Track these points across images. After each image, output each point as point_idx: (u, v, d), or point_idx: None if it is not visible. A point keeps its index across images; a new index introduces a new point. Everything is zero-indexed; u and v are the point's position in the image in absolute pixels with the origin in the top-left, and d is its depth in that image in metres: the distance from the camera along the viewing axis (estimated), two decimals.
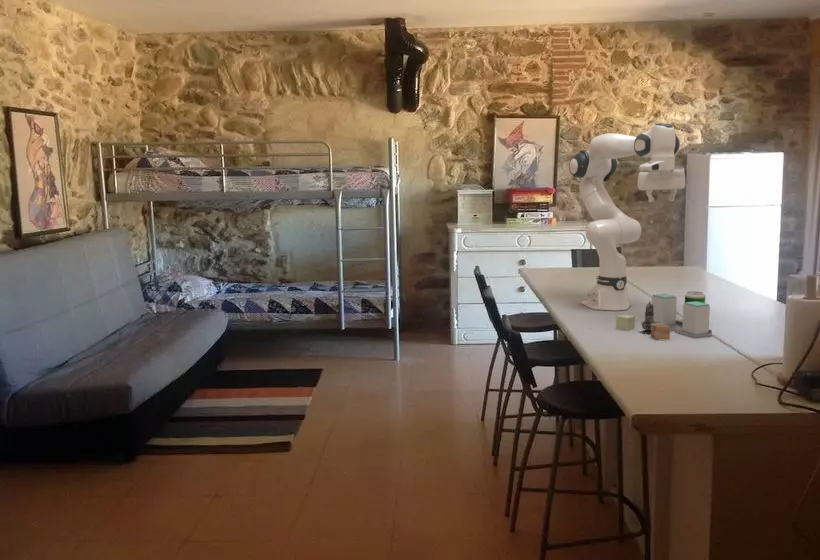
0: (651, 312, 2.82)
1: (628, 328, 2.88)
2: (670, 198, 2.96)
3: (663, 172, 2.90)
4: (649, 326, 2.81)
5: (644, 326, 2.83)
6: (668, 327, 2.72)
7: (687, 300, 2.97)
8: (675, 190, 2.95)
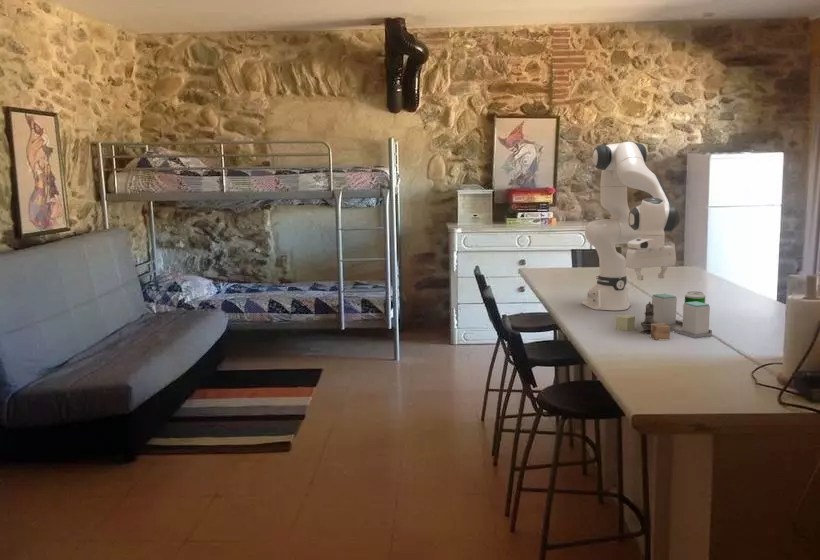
0: (651, 312, 2.82)
1: (628, 328, 2.88)
2: (660, 275, 2.82)
3: (652, 250, 2.76)
4: (649, 326, 2.81)
5: (644, 326, 2.83)
6: (668, 327, 2.72)
7: (687, 300, 2.97)
8: (665, 267, 2.81)
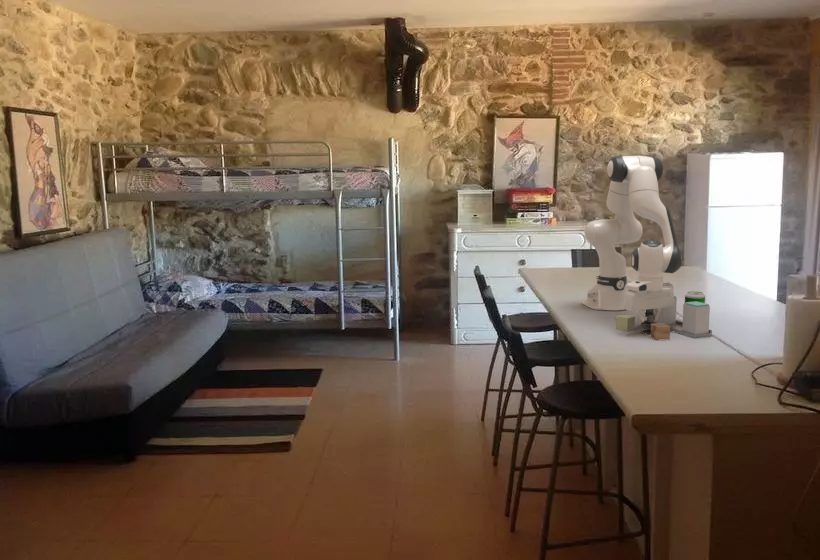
0: (651, 312, 2.82)
1: (628, 328, 2.88)
2: (653, 317, 2.84)
3: (651, 292, 2.79)
4: (649, 326, 2.81)
5: (644, 326, 2.83)
6: (668, 327, 2.72)
7: (687, 300, 2.97)
8: (659, 309, 2.83)
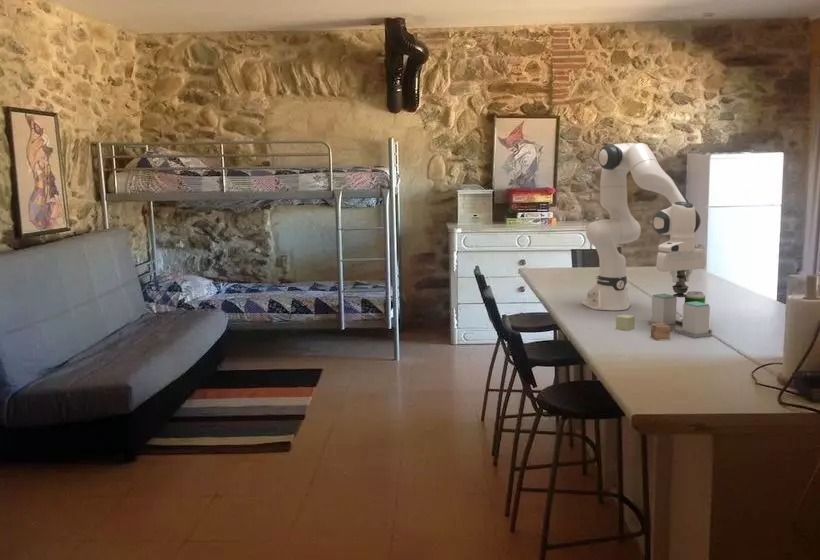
0: (682, 275, 2.83)
1: (628, 328, 2.88)
2: None
3: (682, 253, 2.80)
4: (680, 289, 2.83)
5: (675, 289, 2.84)
6: (668, 327, 2.72)
7: (687, 300, 2.97)
8: (690, 270, 2.84)
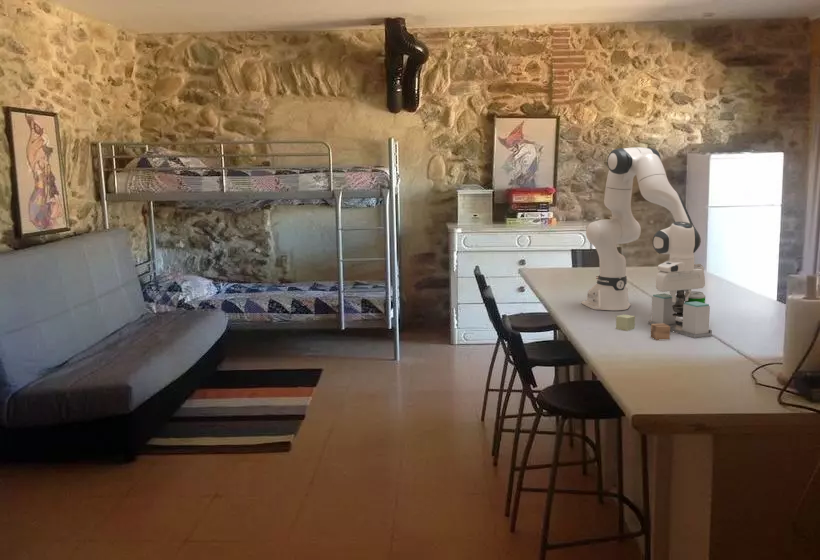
0: (682, 295, 2.84)
1: (628, 328, 2.88)
2: (684, 298, 2.86)
3: (682, 273, 2.81)
4: (680, 309, 2.84)
5: (675, 309, 2.85)
6: (668, 327, 2.72)
7: None
8: (689, 290, 2.86)
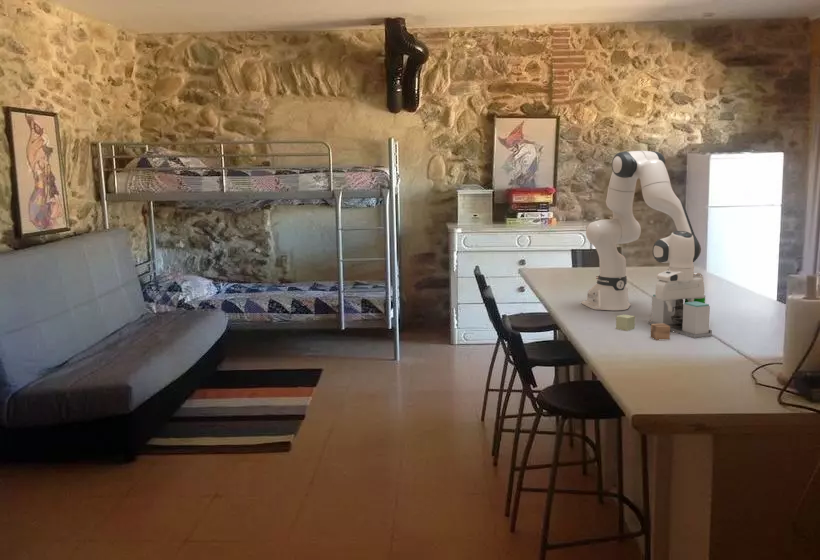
0: (681, 306, 2.85)
1: (628, 328, 2.88)
2: None
3: (681, 282, 2.82)
4: (679, 320, 2.85)
5: (674, 320, 2.86)
6: (668, 327, 2.72)
7: (687, 300, 2.97)
8: (692, 299, 2.87)
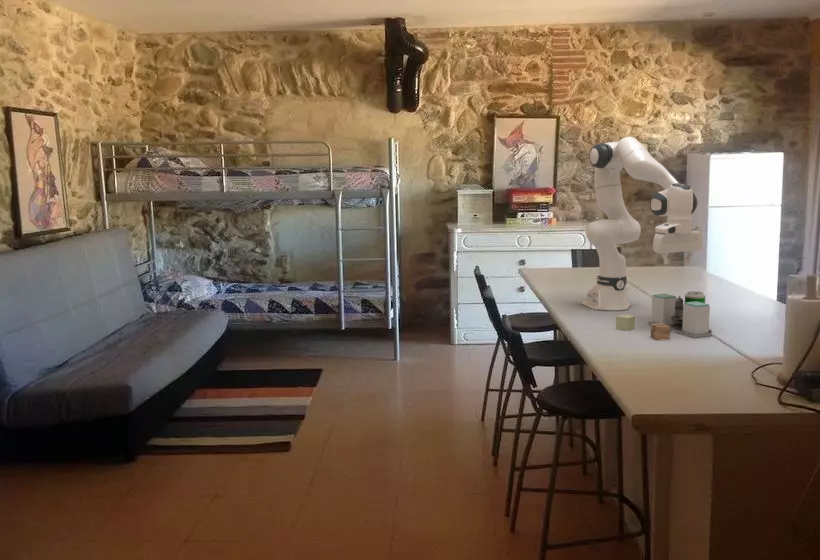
0: (681, 306, 2.85)
1: (628, 328, 2.88)
2: (686, 260, 2.87)
3: (679, 235, 2.81)
4: (679, 320, 2.85)
5: (674, 320, 2.86)
6: (668, 327, 2.72)
7: (687, 300, 2.97)
8: (691, 252, 2.87)
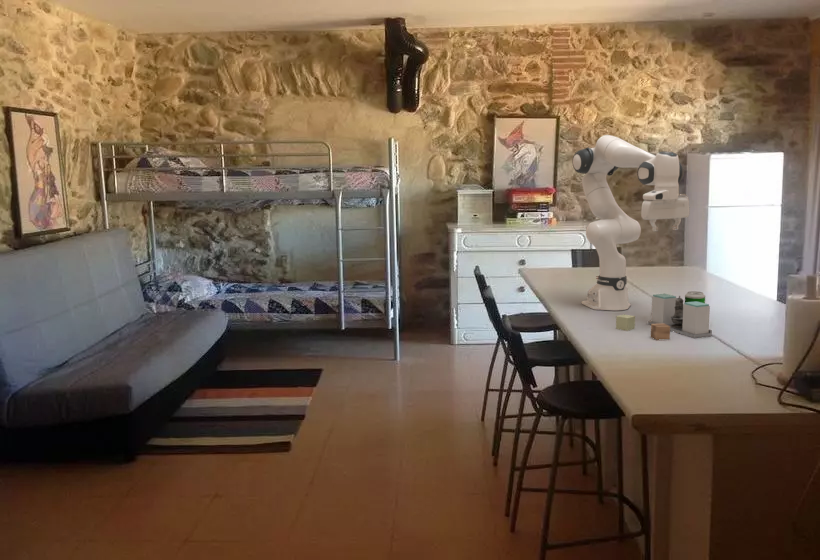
0: (681, 306, 2.85)
1: (628, 328, 2.88)
2: (674, 227, 2.92)
3: (667, 202, 2.86)
4: (679, 320, 2.85)
5: (674, 320, 2.86)
6: (668, 327, 2.72)
7: (687, 300, 2.97)
8: (679, 219, 2.92)
